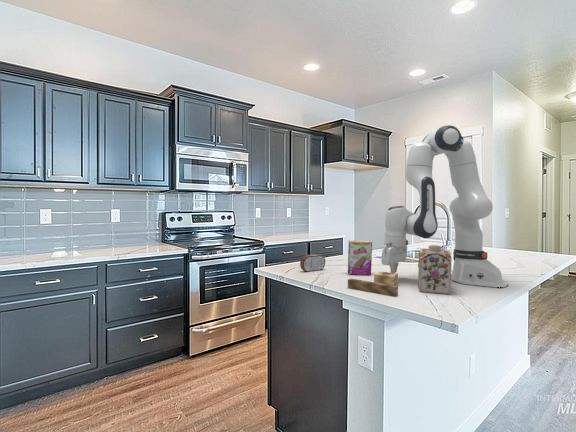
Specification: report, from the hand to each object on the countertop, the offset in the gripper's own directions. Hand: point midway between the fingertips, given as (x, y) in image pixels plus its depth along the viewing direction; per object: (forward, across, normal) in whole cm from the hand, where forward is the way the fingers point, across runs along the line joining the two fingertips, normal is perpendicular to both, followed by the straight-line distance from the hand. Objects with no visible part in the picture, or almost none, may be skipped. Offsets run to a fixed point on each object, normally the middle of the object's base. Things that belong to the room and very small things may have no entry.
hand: (393, 272), depth 152 cm
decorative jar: (+4, -5, -19) cm, 20 cm away
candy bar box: (+4, +3, +18) cm, 19 cm away
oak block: (+4, -10, -1) cm, 11 cm away
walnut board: (+4, -24, -1) cm, 24 cm away
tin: (+5, -5, +40) cm, 41 cm away
